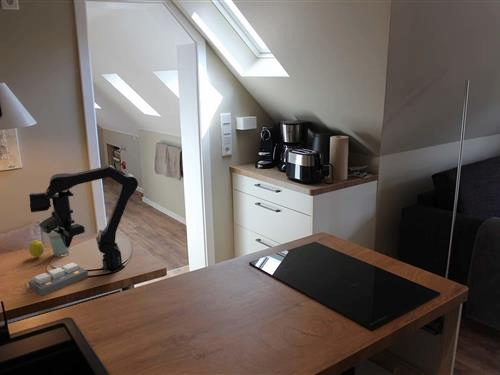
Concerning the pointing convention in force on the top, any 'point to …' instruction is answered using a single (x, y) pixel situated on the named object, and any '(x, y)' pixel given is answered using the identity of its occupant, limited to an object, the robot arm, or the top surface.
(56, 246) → the coffee cup
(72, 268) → the button
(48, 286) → the button board
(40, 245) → the lemon
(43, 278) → the button
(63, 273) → the middle button
